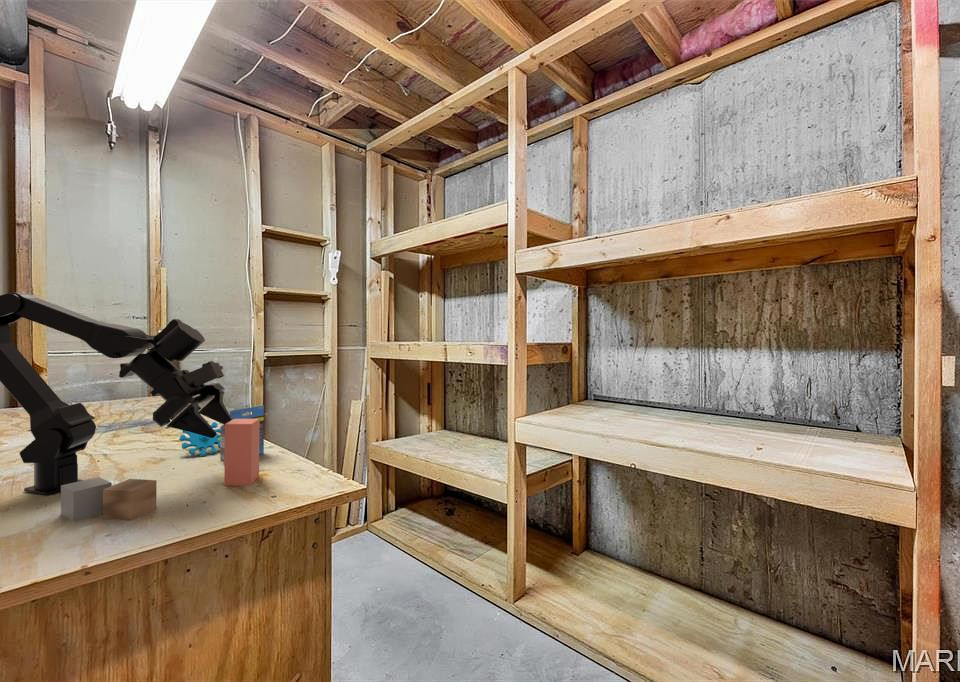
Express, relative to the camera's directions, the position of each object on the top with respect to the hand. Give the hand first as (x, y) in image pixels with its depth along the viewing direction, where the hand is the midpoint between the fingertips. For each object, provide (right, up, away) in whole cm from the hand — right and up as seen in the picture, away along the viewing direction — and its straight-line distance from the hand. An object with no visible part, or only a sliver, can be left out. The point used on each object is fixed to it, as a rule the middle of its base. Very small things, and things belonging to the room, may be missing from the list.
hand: (224, 430), depth 88 cm
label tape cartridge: (-5, -10, +16) cm, 20 cm away
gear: (-16, -10, +19) cm, 27 cm away
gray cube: (-14, -11, -15) cm, 24 cm away
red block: (+3, -11, +1) cm, 11 cm away
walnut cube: (-7, -11, -15) cm, 20 cm away
